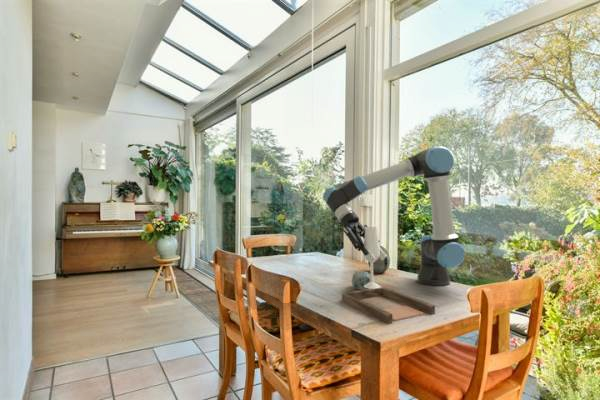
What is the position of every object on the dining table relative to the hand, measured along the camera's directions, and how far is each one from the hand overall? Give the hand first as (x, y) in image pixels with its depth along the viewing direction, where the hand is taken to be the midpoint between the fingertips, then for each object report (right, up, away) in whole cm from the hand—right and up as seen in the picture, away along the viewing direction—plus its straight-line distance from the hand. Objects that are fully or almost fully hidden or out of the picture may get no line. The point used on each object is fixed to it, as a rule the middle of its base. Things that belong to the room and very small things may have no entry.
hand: (378, 259), depth 140 cm
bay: (+2, -18, -4) cm, 18 cm away
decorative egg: (+12, -17, +53) cm, 57 cm away
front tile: (+5, -18, -11) cm, 22 cm away
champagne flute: (-2, -12, +3) cm, 12 cm away
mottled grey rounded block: (-3, -18, +21) cm, 28 cm away
